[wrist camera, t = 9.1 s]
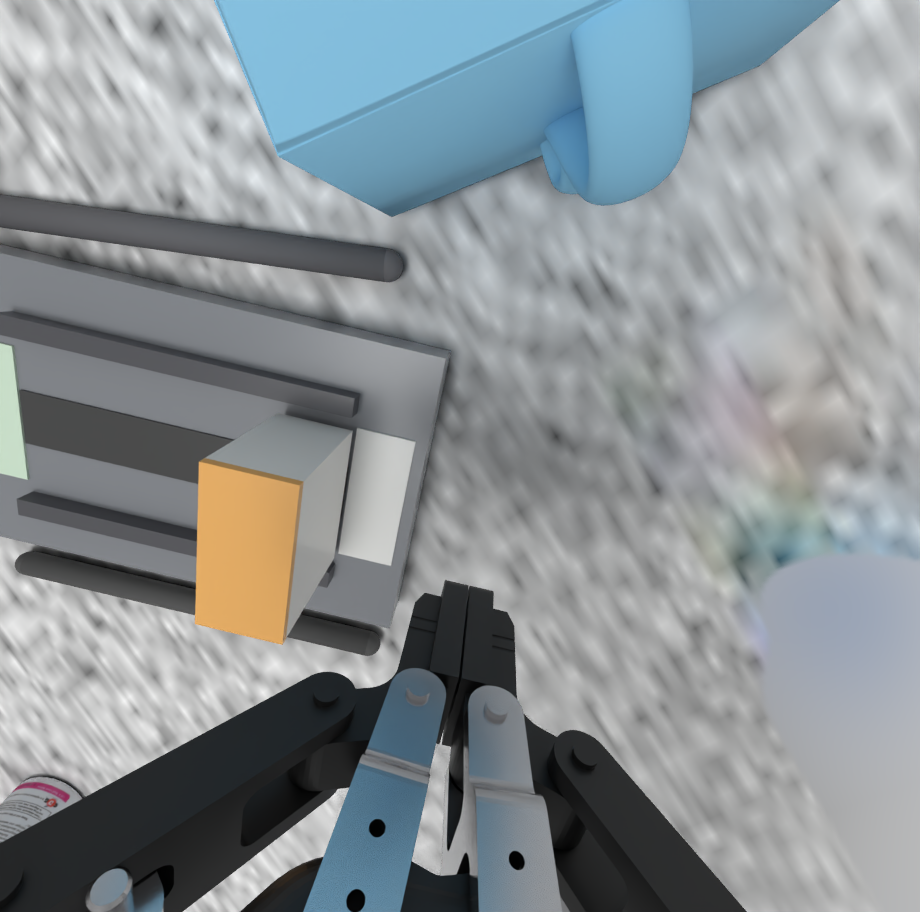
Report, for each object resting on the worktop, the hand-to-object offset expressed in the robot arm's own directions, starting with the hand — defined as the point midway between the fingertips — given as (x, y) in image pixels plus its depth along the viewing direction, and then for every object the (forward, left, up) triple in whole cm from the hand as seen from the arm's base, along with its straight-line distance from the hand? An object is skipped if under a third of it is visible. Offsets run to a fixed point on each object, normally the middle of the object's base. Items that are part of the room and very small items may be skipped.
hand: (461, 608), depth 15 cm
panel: (+12, 0, -8) cm, 15 cm away
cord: (+13, -8, -8) cm, 18 cm away
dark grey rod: (+12, +9, -8) cm, 18 cm away
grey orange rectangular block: (+7, 0, -6) cm, 9 cm away
